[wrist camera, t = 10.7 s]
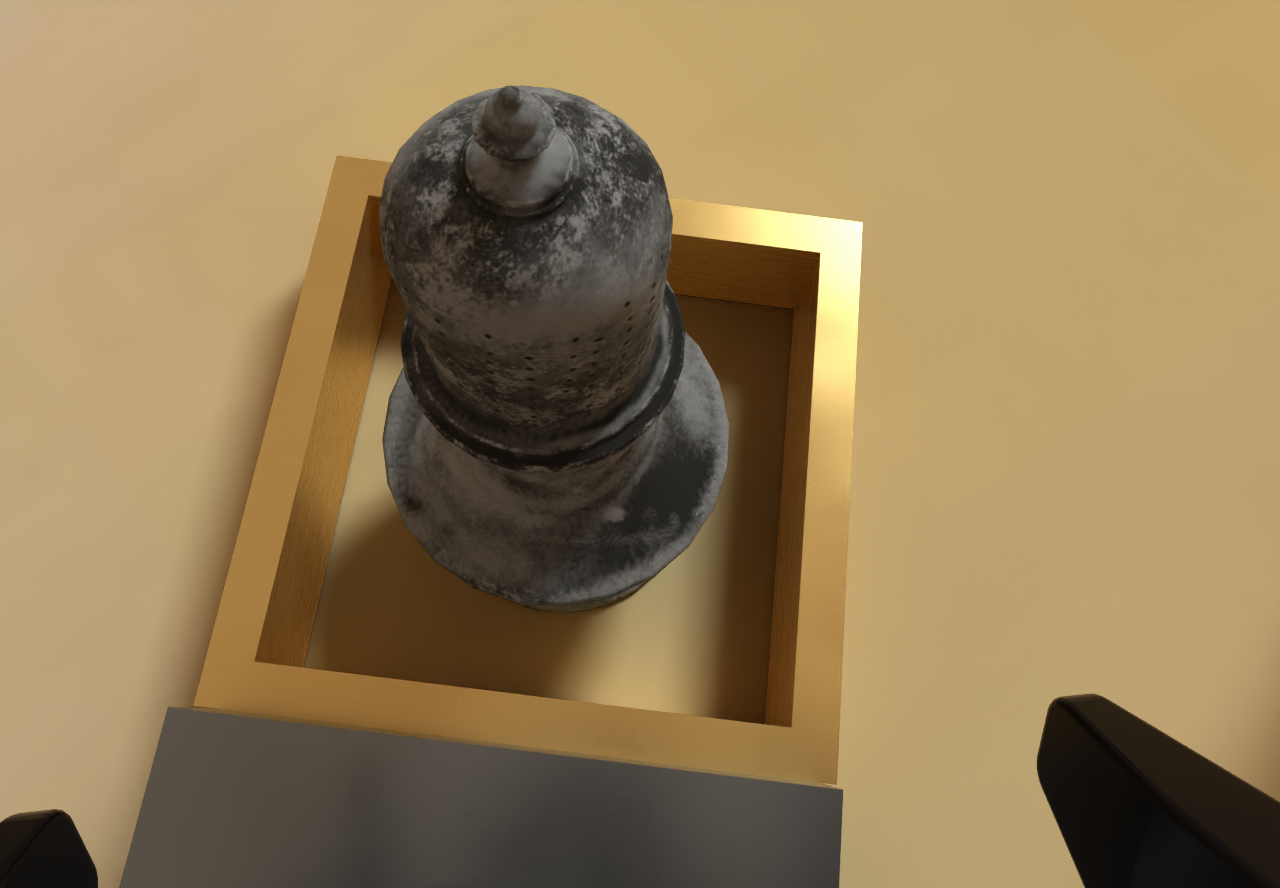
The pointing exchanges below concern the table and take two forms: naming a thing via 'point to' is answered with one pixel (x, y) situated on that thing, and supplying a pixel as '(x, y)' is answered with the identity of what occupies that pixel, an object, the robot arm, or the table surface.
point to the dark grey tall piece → (543, 354)
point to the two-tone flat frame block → (497, 721)
